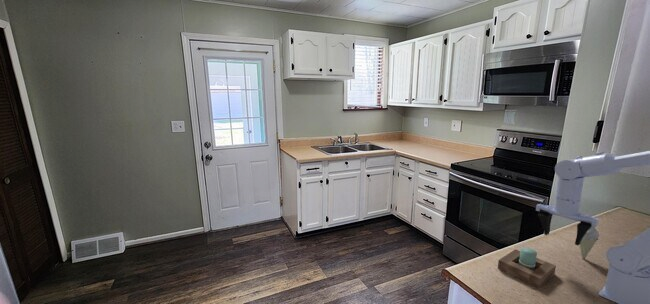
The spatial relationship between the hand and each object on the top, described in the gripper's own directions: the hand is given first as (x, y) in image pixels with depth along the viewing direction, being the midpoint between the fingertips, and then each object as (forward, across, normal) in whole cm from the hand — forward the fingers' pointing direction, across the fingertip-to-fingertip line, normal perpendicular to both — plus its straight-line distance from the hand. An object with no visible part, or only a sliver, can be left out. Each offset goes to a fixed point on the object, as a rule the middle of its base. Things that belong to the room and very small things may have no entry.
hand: (561, 238), depth 85 cm
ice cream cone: (+10, -3, -12) cm, 15 cm away
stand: (+9, +4, +11) cm, 15 cm away
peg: (+9, +4, +11) cm, 15 cm away
